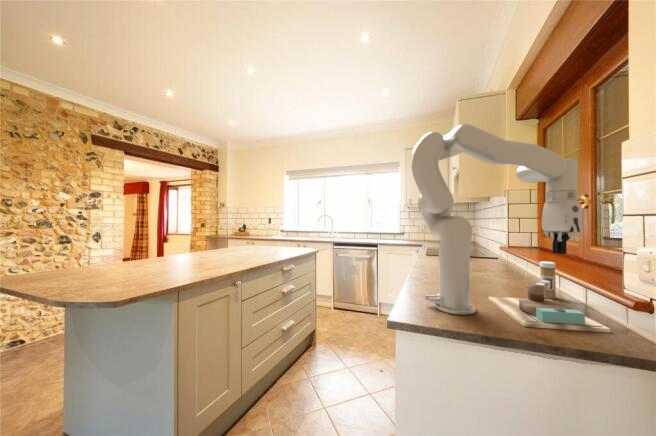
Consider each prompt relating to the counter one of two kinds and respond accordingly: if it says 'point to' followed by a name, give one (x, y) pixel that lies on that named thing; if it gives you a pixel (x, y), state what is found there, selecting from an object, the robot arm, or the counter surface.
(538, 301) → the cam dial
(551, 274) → the sprinkles bottle
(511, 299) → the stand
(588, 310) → the counter surface
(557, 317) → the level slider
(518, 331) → the counter surface
